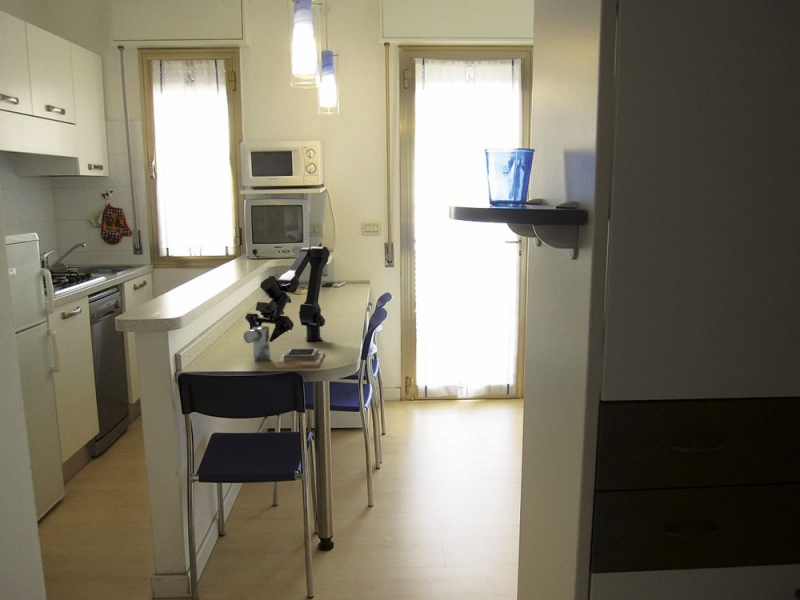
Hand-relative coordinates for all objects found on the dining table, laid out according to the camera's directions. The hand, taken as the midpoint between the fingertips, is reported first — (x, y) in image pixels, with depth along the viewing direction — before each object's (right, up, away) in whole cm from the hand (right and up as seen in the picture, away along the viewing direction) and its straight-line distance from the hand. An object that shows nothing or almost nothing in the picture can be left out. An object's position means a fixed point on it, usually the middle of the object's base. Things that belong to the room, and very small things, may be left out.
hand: (260, 340), depth 234 cm
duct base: (+15, -7, -1) cm, 17 cm away
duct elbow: (0, -8, 0) cm, 8 cm away
